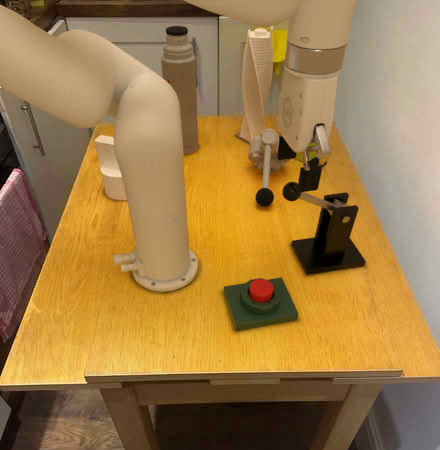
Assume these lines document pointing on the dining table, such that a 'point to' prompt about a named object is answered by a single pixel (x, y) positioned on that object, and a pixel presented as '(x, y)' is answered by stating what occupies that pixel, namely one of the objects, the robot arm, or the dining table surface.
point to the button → (261, 290)
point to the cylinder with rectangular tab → (110, 168)
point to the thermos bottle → (182, 81)
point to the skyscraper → (256, 81)
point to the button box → (259, 306)
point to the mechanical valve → (265, 162)
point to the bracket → (330, 240)
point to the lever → (309, 197)
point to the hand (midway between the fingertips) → (296, 173)
